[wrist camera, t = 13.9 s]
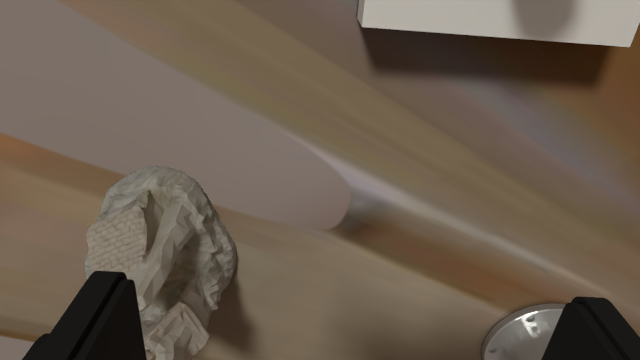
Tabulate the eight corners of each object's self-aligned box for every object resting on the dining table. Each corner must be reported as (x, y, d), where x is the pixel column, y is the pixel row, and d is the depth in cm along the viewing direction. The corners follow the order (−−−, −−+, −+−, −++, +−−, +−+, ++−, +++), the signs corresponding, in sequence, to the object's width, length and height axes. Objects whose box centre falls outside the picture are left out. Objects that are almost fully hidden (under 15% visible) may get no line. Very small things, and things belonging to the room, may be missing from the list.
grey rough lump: (200, 156, 39) (127, 276, 26) (256, 292, 47) (221, 435, 34) (43, 186, 41) (-95, 309, 28) (122, 310, 49) (42, 450, 36)
